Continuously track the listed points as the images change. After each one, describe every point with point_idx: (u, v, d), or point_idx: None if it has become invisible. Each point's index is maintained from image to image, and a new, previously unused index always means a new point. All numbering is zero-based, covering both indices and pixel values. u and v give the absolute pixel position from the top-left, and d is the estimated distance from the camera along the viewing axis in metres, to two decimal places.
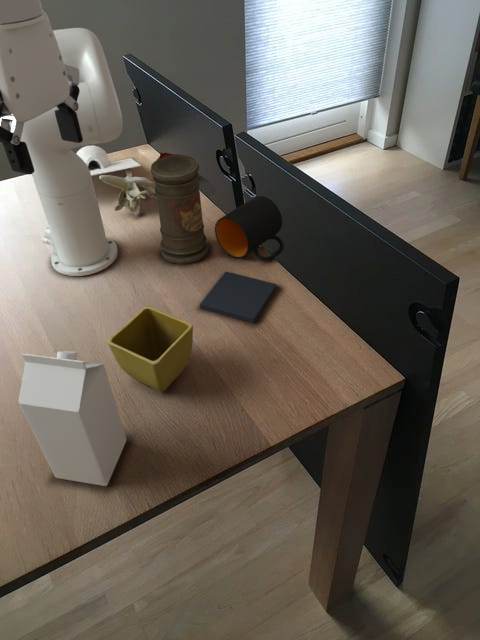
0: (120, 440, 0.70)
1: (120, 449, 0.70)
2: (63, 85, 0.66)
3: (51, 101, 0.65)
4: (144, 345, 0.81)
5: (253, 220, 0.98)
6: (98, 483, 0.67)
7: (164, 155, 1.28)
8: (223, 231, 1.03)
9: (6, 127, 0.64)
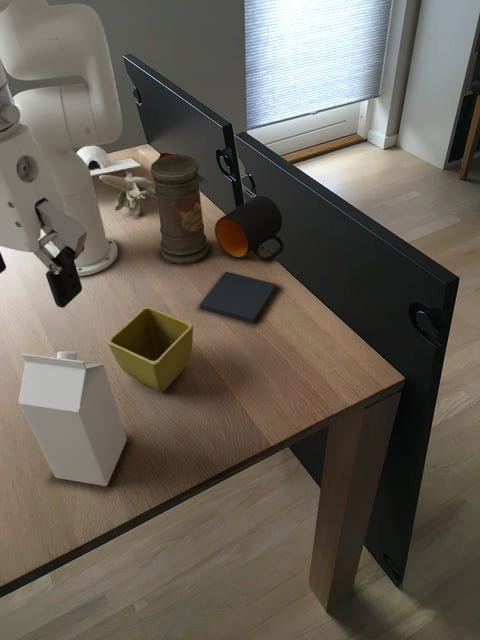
0: (120, 440, 0.70)
1: (120, 449, 0.70)
2: (16, 236, 0.45)
3: None
4: (144, 345, 0.81)
5: (253, 220, 0.98)
6: (98, 483, 0.67)
7: (164, 155, 1.28)
8: (223, 231, 1.03)
9: None
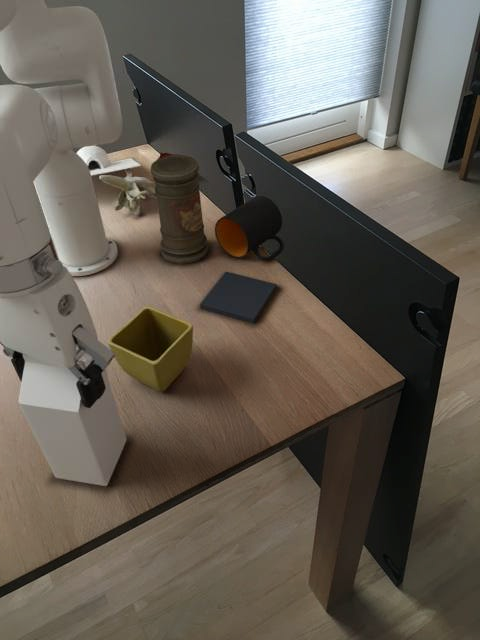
0: (120, 441, 0.70)
1: (120, 449, 0.70)
2: (55, 356, 0.52)
3: (37, 355, 0.54)
4: (144, 345, 0.81)
5: (253, 220, 0.98)
6: (98, 483, 0.67)
7: (164, 155, 1.28)
8: (223, 231, 1.03)
9: None
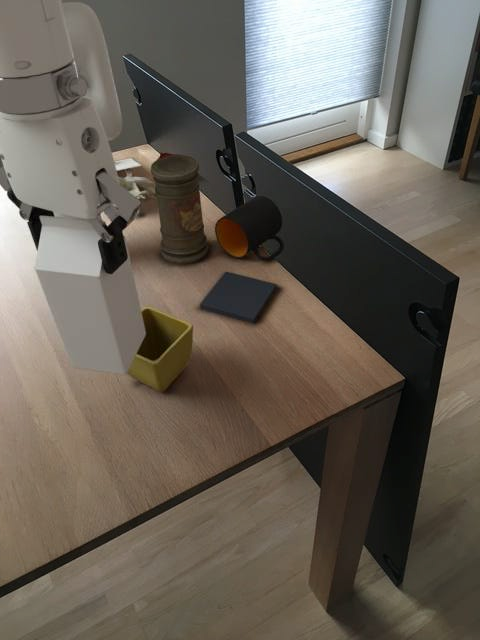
0: (139, 331, 0.66)
1: (140, 341, 0.66)
2: (77, 203, 0.49)
3: (56, 207, 0.50)
4: (144, 345, 0.81)
5: (253, 220, 0.98)
6: (116, 371, 0.63)
7: (164, 155, 1.28)
8: (223, 231, 1.03)
9: None
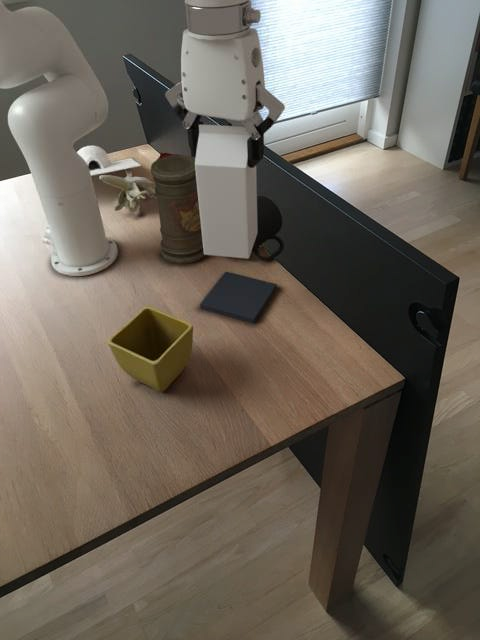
0: (255, 228, 0.84)
1: (255, 236, 0.84)
2: (239, 107, 0.67)
3: (221, 112, 0.68)
4: (144, 345, 0.81)
5: None
6: (242, 255, 0.81)
7: (164, 155, 1.28)
8: None
9: None
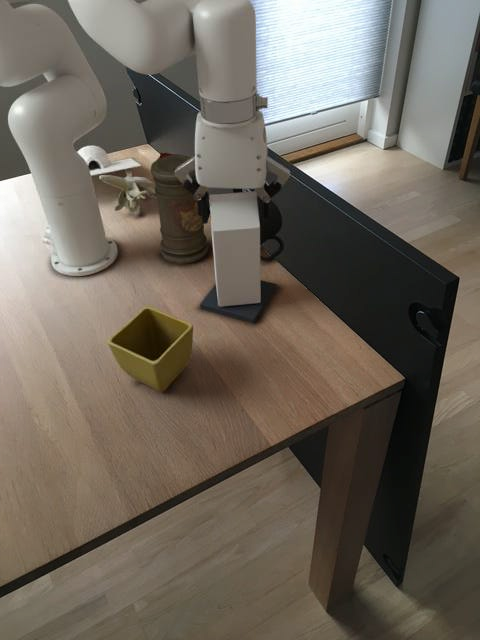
0: None
1: None
2: (253, 178, 0.75)
3: (235, 183, 0.76)
4: (144, 345, 0.81)
5: None
6: (254, 301, 0.90)
7: (164, 155, 1.28)
8: None
9: None
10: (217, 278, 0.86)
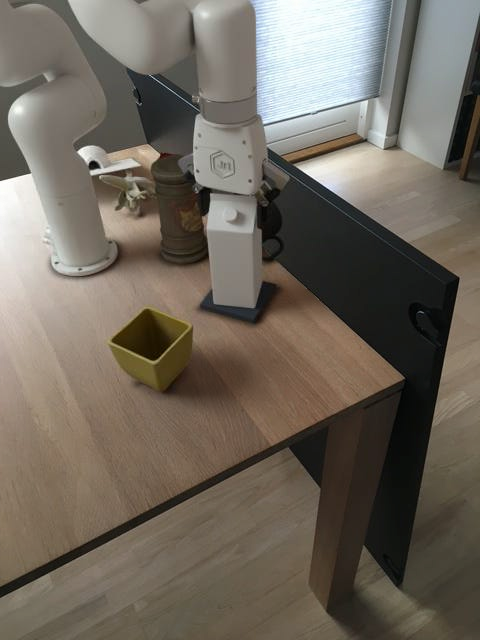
0: None
1: None
2: None
3: None
4: (144, 345, 0.81)
5: None
6: None
7: (164, 155, 1.28)
8: None
9: None
10: (260, 254, 0.91)
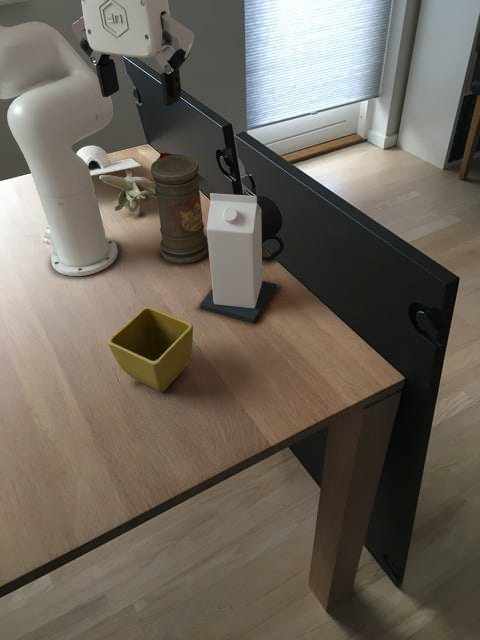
0: None
1: None
2: None
3: None
4: (144, 345, 0.81)
5: None
6: None
7: (164, 155, 1.28)
8: None
9: None
10: (260, 254, 0.91)
